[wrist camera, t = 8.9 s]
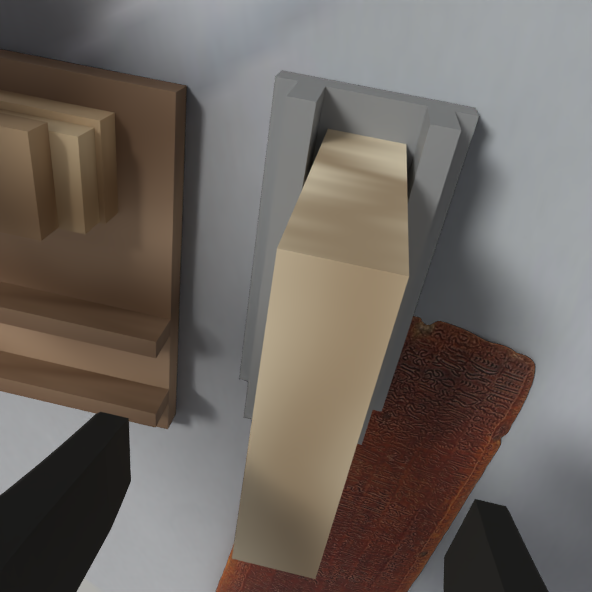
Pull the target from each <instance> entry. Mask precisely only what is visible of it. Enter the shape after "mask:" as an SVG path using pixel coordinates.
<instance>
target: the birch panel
mask: <svg viewBox="0 0 592 592" xmlns="http://www.w3.org/2000/svg"><path fill="white" fill-rule="evenodd" d="M408 278H409V247H408V200H407V153H406V144H403V143H398V142H393V141H388V140H383V139H377V138H372V137H367V136H362V135H357V134H352V133H347V132H342V131H337V130H332V129H328V130H327V132H326V135H325V137H324V139H323V142H322V144H321V147H320V149H319V151H318V154H317V156H316V158H315V161H314V163H313V165H312V168H311V170H310V172H309V175H308V177H307V179H306V182H305V184H304V186H303V189H302V191H301V193H300V196H299V198H298V200H297V203H296V205H295V207H294V210H293V212H292V214H291V217H290V219H289V221H288V224H287V226H286V229H285V231H284V233H283V236H282V238H281V240H280V243H279V245H278V247H277V252H276V259H275V266H274V273H273V279H272V286H271V293H270V300H269V307H268V314H267V321H266V327H265V334H264V341H263V348H262V355H261V362H260V369H259V376H258V382H257V389H256V396H255V403H254V410H253V417H252V424H251V430H250V437H249V444H248V451H247V458H246V465H245V472H244V478H243V485H242V492H241V499H240V506H239V513H238V520H237V526H236V533H235V540H234V547H233V554H232V559H236V560H240V561H244V562H248V563H252V564H256V565H260V566H264V567H268V568H272V569H276V570H280V571H285V572H289V573H293V574H297V575H301V576H305V577H309V578H313V579H316V575H317V572H318V569H319V566H320V562H321V559H322V556H323V553H324V550H325V546H326V543H327V540H328V537H329V533H330V530H331V527H332V524H333V520H334V517H335V514H336V511H337V508H338V504H339V501H340V498H341V495H342V491H343V488H344V485H345V482H346V479H347V475H348V472H349V469H350V466H351V462H352V459H353V456H354V453H355V450H356V446H357V443H358V440H359V437H360V433H361V430H362V427H363V424H364V420H365V417H366V414H367V411H368V408H369V404H370V401H371V398H372V395H373V391H374V388H375V385H376V382H377V379H378V375H379V372H380V369H381V366H382V362H383V359H384V356H385V353H386V349H387V346H388V343H389V340H390V337H391V333H392V330H393V327H394V324H395V320H396V317H397V314H398V311H399V308H400V304H401V301H402V298H403V295H404V291H405V288H406V285H407V282H408Z"/></svg>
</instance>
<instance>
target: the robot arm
mask: <svg viewBox="0 0 592 592" xmlns="http://www.w3.org/2000/svg"><path fill="white" fill-rule="evenodd" d="M130 482H131V473H130V444H129V418H126V417H122V416H117V415H113V414H109V413H104V412H99V413H97V414H95V415H94V416H93V417H92V418H91V419H90V420H89V421H88V422H87V423H85V424H84V425H83V426H82V427H81V428H80V429H79V430H78V431H76V432H75V433H74V434H73V435H72V436H71V437H70V438H69V439H67V440H66V441H65V442H64V443H63V444H62V445H61V446H59V447H58V448H57V449H56V450H55V451H54V452H52V453H51V454H50V455H49V456H48V457H47V458H45V459H44V460H43V461H42V462H41V463H40V464H38V465H37V466H36V467H35V468H33V469H32V470H31V471H30V472H28V473H27V474H26V475H25V476H24V477H22V478H21V479H20V480H19V481H17V482H16V483H15V484H14V485H13V486H11V487H10V488H9V489H8V490H6V491H5V492H4V493H3V494H1V495H0V592H77V590H78V588H79V586H80V584H81V582H82V581H83V579H84V577H85V575H86V573H87V572H88V570H89V568H90V566H91V564H92V563H93V561H94V559H95V557H96V555H97V554H98V552H99V550H100V548H101V546H102V544H103V543H104V541H105V539H106V537H107V535H108V533H109V531H110V530H111V527H112V525H113V523H114V521H115V518H116V516H117V514H118V511H119V509H120V507H121V504H122V502H123V499H124V497H125V494H126V492H127V489H128V487H129V484H130ZM444 592H548V590H547V588H546V586H545V584H544V582H543V580H542V578H541V576H540V574H539V572H538V570H537V568H536V566H535V564H534V562H533V560H532V558H531V556H530V554H529V552H528V550H527V548H526V546H525V544H524V542H523V540H522V537H521V535H520V533H519V531H518V529H517V527H516V525H515V523H514V521H513V519H512V517H511V514H510V512H509V511H508V509H507V508H506V506H502V505H498V504H494V503H489V502H485V501H481V500H476V499H475V500H474V502H473V504H472V506H471V508H470V510H469V512H468V514H467V515H466V517H465V519H464V521H463V523H462V525H461V527H460V529H459V530H458V532H457V534H456V536H455V538H454V540H453V542H452V544H451V545H450V547H449V549H448V551H447V553H446V555H445V557H444Z"/></svg>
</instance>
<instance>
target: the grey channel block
mask: <svg viewBox="0 0 592 592" xmlns="http://www.w3.org/2000/svg"><path fill="white" fill-rule="evenodd" d="M478 118H479V115H478V113H477V110H476V108H474V107H468V106H463V105H458V104H453V103H448V102H443V101H437V100H432V99H427V98H422V97H417V96H411V95H406V94H401V93H396V92H391V91H385V90H380V89H375V88H370V87H365V86H360V85H354V84H349V83H344V82H339V81H334V80H328V79H323V78H318V77H313V76H308V75H302V74H297V73H292V72H287V71H281V72H280V73H279V74H277V75H276V76H275V83H274V92H273V100H272V108H271V117H270V125H269V133H268V142H267V150H266V158H265V167H264V175H263V184H262V192H261V200H260V209H259V217H258V225H257V234H256V242H255V250H254V259H253V267H252V275H251V284H250V292H249V301H248V309H247V317H246V326H245V334H244V342H243V351H242V359H241V367H240V376H239V379H240V380H245V381H248V388H247V396H246V403H245V411H244V418H248V419H252V417H253V410H254V403H255V396H256V389H257V382H258V376H259V369H260V362H261V355H262V348H263V341H264V334H265V327H266V321H267V314H268V307H269V300H270V293H271V286H272V279H273V273H274V266H275V259H276V252H277V247H278V245H279V243H280V240H281V238H282V236H283V233H284V231H285V229H286V226H287V224H288V221H289V219H290V217H291V214H292V212H293V210H294V207H295V205H296V203H297V200H298V198H299V196H300V193H301V191H302V189H303V186H304V184H305V182H306V179H307V177H308V175H309V172H310V170H311V168H312V165H313V163H314V161H315V158H316V156H317V154H318V151H319V149H320V147H321V144H322V142H323V139H324V137H325V135H326V132H327V130H328V129H332V130H337V131H342V132H347V133H352V134H357V135H362V136H367V137H372V138H377V139H383V140H388V141H393V142H398V143H403V144H406V153H407V200H408V247H409V278H408V282H407V285H406V288H405V291H404V295H403V298H402V301H401V304H400V308H399V311H398V314H397V317H396V320H395V324H394V327H393V330H392V333H391V337H390V340H389V343H388V346H387V349H386V353H385V356H384V359H383V362H382V366H381V369H380V372H379V375H378V379H377V382H376V385H375V388H374V391H373V395H372V398H371V401H370V404H369V408H368V411H367V414H366V417H365V420H364V424H363V427H362V430H361V433H360V437H359V440H358V443H357V444H360V445H362V442H363V439H364V436H365V432H366V429H367V426H368V423H369V420H370V417H371V414H372V410H376V411H381V412H382V409H383V406H384V403H385V400H386V397H387V394H388V390H389V387H390V384H391V381H392V378H393V375H394V372H395V369H396V366H397V363H398V360H399V357H400V354H401V351H402V348H403V345H404V342H405V339H406V336H407V333H408V330H409V327H410V324H411V321H412V318H413V315H414V312H415V309H416V306H417V303H418V300H419V297H420V294H421V291H422V288H423V285H424V282H425V279H426V275H427V272H428V269H429V266H430V263H431V260H432V257H433V254H434V251H435V248H436V245H437V242H438V239H439V236H440V233H441V230H442V227H443V224H444V221H445V218H446V215H447V212H448V209H449V206H450V203H451V200H452V197H453V194H454V191H455V188H456V185H457V182H458V179H459V176H460V173H461V170H462V167H463V164H464V160H465V157H466V154H467V151H468V148H469V145H470V142H471V139H472V136H473V133H474V130H475V127H476V124H477V121H478Z"/></svg>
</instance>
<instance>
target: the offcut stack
mask: <svg viewBox="0 0 592 592" xmlns="http://www.w3.org/2000/svg"><path fill="white" fill-rule="evenodd" d="M117 213H118V187H117V161H116V134H115V113H114V112H109V111H104V110H99V109H94V108H89V107H84V106H79V105H74V104H69V103H64V102H59V101H54V100H49V99H44V98H39V97H34V96H29V95H24V94H19V93H14V92H9V91H4V90H0V232H2V233H7V234H12V235H16V236H21V237H25V238H30V239H35V240H39V241H42V240H43V239H45V238H46V237H47V236H48V235H50V234H51V233H52V232H53V231H55V230H56V229H57V228H58V229H63V230H67V231H72V232H76V233H81V234H86V233H87V232H89V231H90V230H91V229H92V228H93V227H94V226H95V225H97V224H98V223H102V224H106V223H107V222H108V221H110V220H111V219H112V218H113V217H114V216H115V215H116V214H117Z"/></svg>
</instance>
